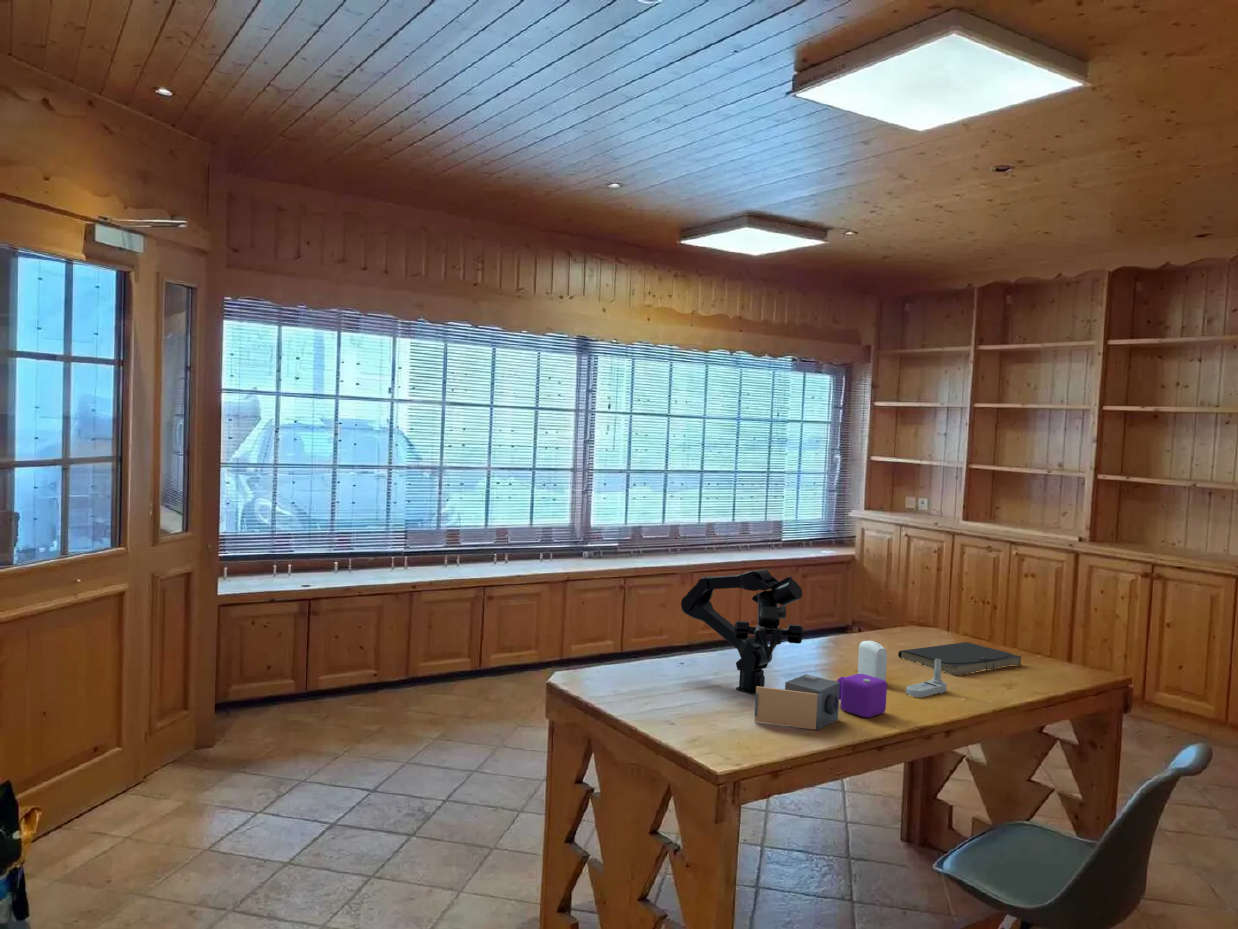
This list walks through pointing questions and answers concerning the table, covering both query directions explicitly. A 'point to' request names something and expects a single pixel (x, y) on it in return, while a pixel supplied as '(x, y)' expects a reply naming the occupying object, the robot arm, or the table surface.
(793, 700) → the side door
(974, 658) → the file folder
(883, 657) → the photo printer
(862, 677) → the toy camera
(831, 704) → the camera case
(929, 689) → the electronic device
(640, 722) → the table surface
